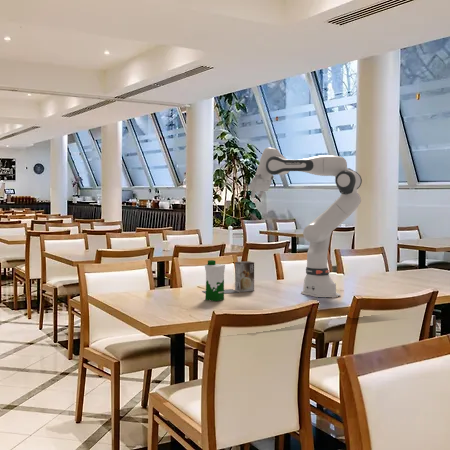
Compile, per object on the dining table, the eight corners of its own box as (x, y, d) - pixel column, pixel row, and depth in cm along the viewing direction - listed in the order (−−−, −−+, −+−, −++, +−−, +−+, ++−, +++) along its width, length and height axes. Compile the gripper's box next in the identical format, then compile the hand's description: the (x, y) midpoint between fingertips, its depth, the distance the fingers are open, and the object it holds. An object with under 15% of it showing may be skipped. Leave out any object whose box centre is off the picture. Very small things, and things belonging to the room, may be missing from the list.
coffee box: (248, 289, 331) (249, 261, 330) (254, 290, 326) (254, 262, 325) (234, 290, 327) (234, 261, 326) (240, 292, 321) (240, 263, 320)
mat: (239, 292, 320) (239, 292, 320) (208, 294, 313) (208, 294, 313) (231, 289, 329) (231, 289, 329) (202, 291, 322) (202, 291, 322)
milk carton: (212, 297, 305) (212, 259, 304) (226, 299, 300) (227, 260, 299) (202, 300, 298) (203, 261, 296) (217, 302, 293) (217, 262, 292)
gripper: (260, 176, 322) (253, 199, 324) (275, 177, 340) (267, 199, 343) (250, 172, 324) (243, 196, 327) (265, 173, 342) (258, 195, 345)
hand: (255, 197), depth 335 cm, fingers open, 8 cm apart
